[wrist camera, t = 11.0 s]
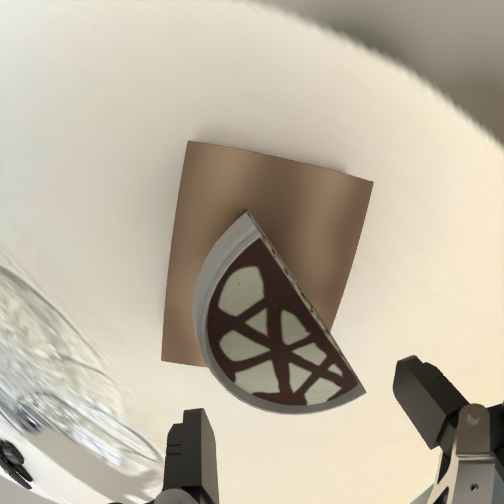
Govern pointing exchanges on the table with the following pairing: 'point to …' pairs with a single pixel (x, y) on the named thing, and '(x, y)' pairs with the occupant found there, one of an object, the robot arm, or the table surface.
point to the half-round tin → (266, 329)
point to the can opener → (14, 465)
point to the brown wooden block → (269, 220)
